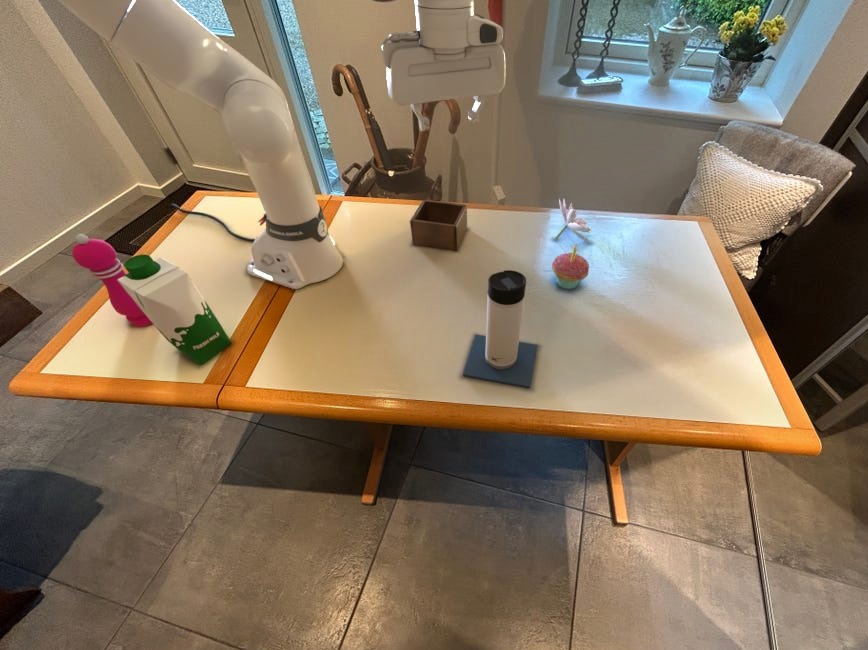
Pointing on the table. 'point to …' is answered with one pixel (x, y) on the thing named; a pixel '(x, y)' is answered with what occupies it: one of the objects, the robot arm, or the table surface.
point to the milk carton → (174, 307)
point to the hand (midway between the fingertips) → (449, 126)
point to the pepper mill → (108, 276)
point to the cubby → (439, 224)
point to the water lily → (573, 221)
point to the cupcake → (570, 269)
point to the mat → (512, 376)
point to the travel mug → (504, 318)
